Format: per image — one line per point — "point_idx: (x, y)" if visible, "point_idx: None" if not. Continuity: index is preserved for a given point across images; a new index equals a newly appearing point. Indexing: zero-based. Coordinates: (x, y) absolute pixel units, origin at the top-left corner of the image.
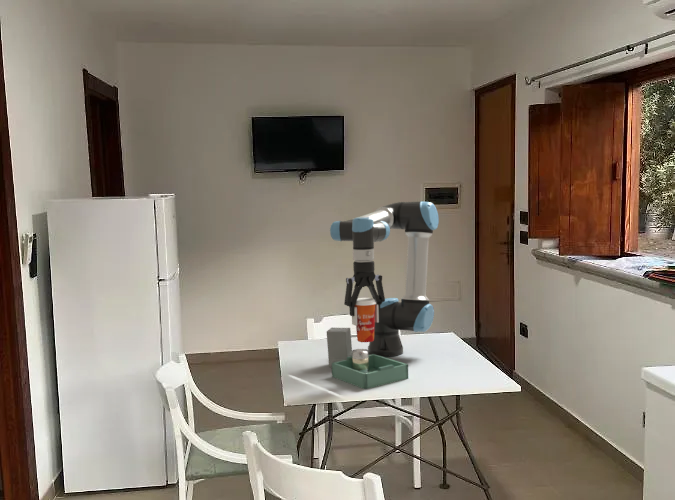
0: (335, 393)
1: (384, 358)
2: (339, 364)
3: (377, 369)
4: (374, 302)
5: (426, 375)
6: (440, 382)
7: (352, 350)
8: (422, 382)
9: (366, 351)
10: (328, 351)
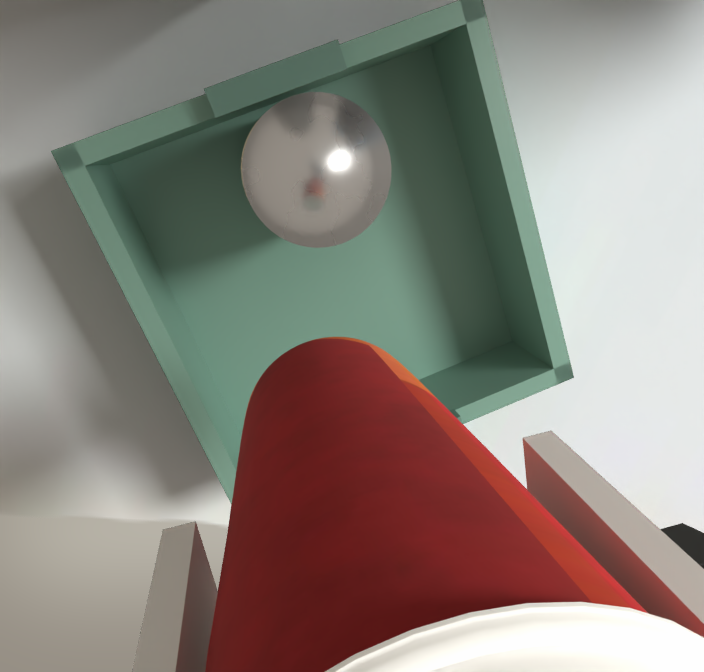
0: (61, 456)
1: (503, 169)
2: (112, 223)
3: (442, 93)
4: None
5: (652, 284)
6: (645, 420)
7: (251, 132)
8: (572, 396)
9: (364, 218)
10: None
